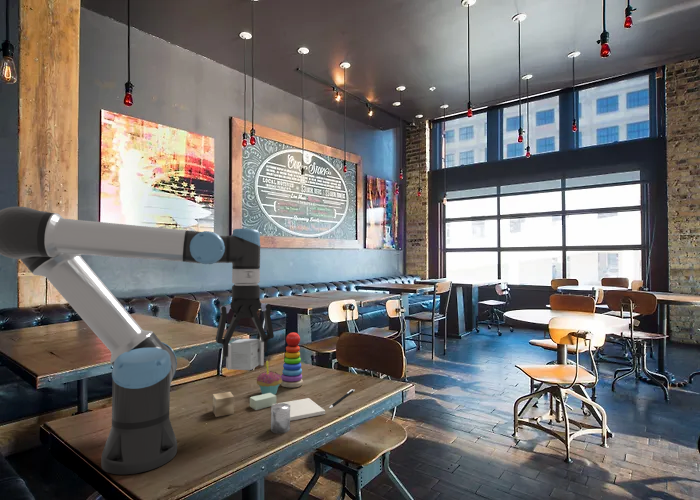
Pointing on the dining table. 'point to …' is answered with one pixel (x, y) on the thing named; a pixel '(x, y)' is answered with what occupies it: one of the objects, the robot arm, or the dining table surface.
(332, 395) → the dining table surface
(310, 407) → the cream pad
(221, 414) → the oak cube
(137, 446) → the robot arm
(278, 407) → the steel cylinder
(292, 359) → the stacking toy
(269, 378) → the cupcake
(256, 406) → the sage block
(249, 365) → the skincare box
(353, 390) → the pen
